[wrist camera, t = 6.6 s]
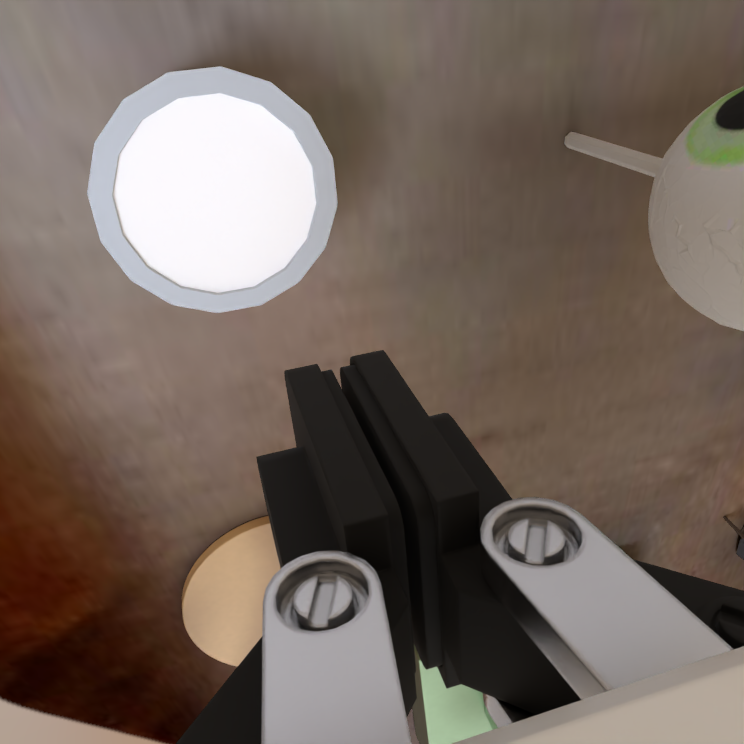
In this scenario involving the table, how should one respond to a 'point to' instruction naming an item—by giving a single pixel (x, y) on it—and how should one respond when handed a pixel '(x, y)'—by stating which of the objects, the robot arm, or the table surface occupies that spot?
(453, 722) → the green rectangular block
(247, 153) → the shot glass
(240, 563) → the coaster
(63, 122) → the table surface
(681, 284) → the lollipop
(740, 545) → the wizard figurine
